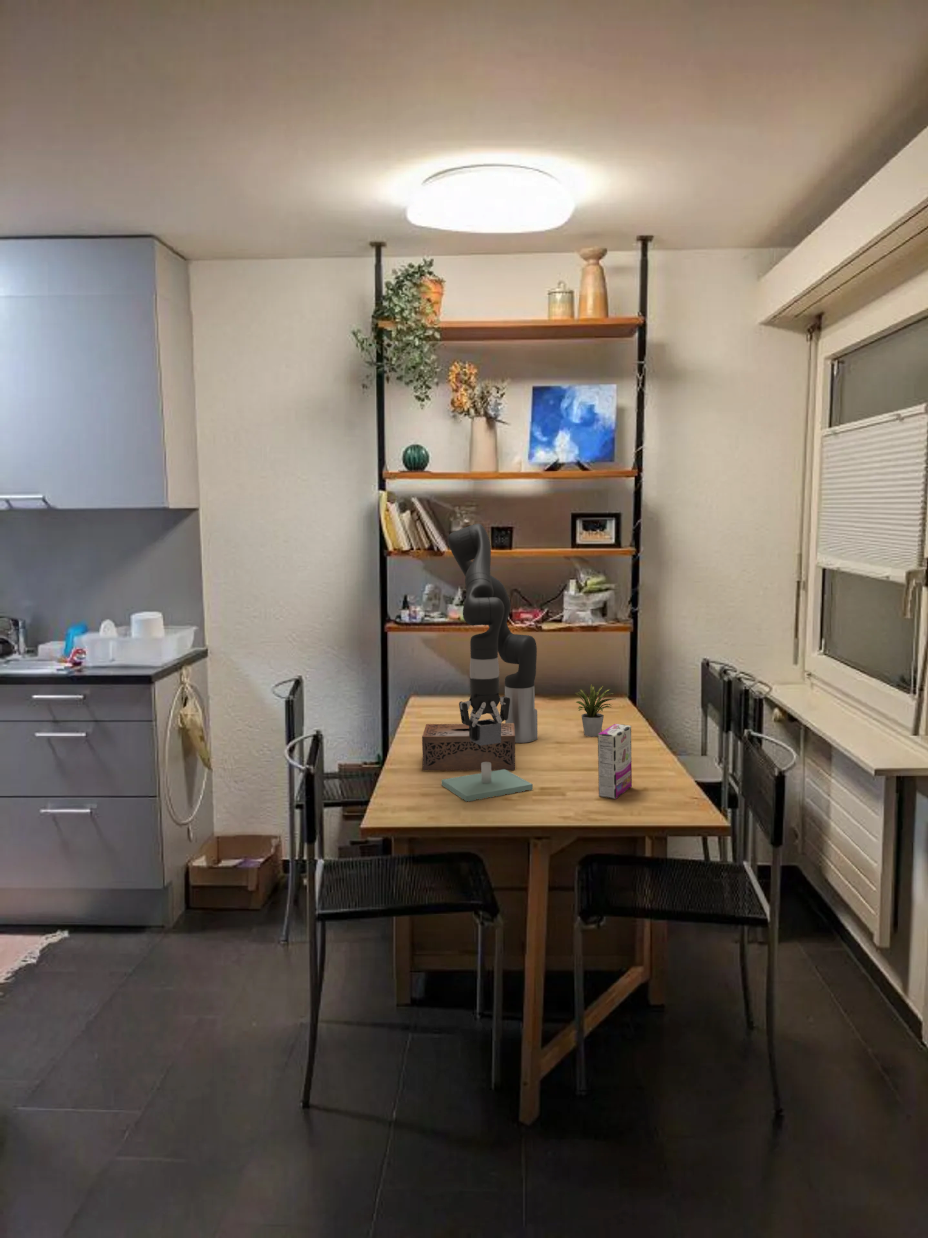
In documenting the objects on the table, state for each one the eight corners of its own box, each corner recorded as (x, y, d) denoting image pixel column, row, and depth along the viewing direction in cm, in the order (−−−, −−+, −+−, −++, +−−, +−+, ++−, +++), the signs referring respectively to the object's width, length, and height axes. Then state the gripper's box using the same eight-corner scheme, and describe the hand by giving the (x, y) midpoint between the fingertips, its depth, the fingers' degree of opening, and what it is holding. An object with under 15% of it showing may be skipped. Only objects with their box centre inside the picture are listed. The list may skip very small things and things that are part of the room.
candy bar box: (614, 784, 229) (614, 723, 227) (632, 787, 226) (632, 725, 224) (596, 796, 220) (596, 732, 218) (615, 799, 217) (615, 735, 215)
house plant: (593, 744, 268) (593, 691, 266) (560, 735, 278) (559, 685, 276) (622, 735, 277) (623, 684, 275) (589, 727, 288) (589, 679, 286)
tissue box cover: (422, 771, 244) (422, 736, 243) (427, 757, 259) (426, 724, 257) (515, 771, 243) (514, 735, 242) (514, 756, 258) (514, 723, 256)
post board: (504, 774, 239) (504, 751, 238) (532, 789, 226) (532, 765, 225) (441, 785, 231) (441, 761, 230) (466, 801, 218) (465, 776, 217)
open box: (490, 737, 231) (490, 718, 230) (501, 742, 225) (501, 723, 225) (470, 740, 228) (469, 721, 228) (480, 745, 223) (480, 726, 222)
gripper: (502, 670, 231) (502, 732, 233) (452, 675, 225) (454, 739, 227) (516, 674, 224) (516, 738, 226) (465, 680, 218) (466, 745, 220)
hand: (485, 738), depth 227 cm, fingers closed on open box, 6 cm apart
